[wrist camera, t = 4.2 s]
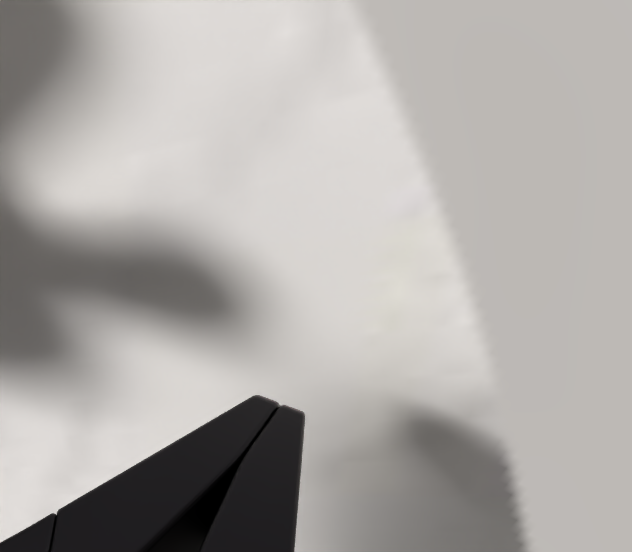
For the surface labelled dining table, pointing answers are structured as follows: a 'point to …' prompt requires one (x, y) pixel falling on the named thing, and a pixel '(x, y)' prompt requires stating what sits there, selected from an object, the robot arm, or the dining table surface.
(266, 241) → the dining table surface
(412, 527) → the dining table surface
